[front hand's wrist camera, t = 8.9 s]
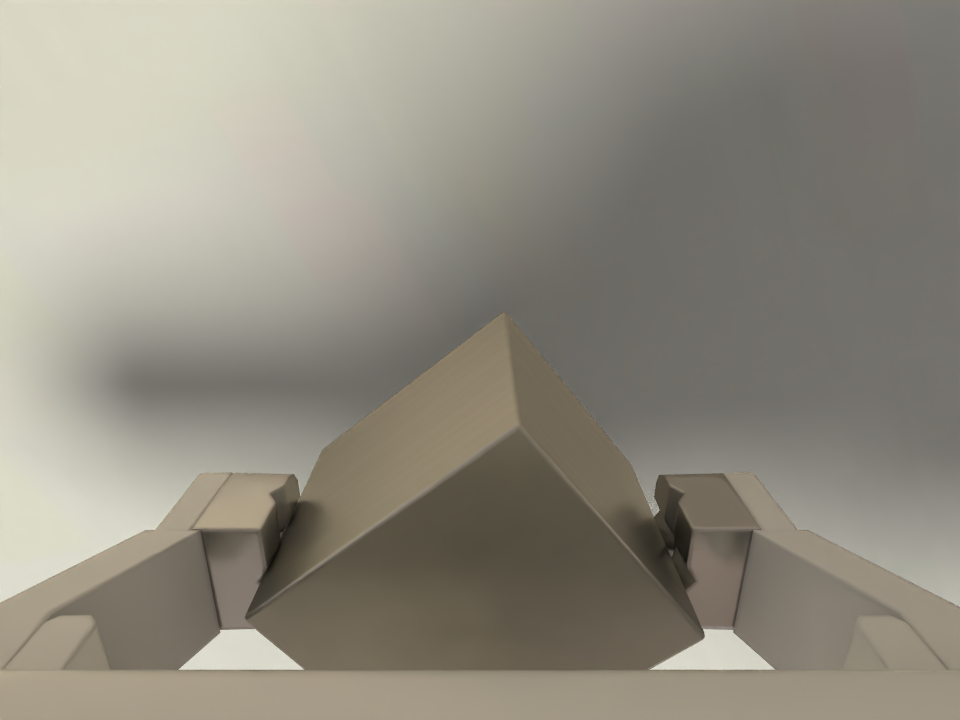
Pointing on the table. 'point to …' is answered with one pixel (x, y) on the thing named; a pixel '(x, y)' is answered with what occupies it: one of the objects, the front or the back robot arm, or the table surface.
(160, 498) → the table surface
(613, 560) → the block
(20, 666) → the front robot arm
